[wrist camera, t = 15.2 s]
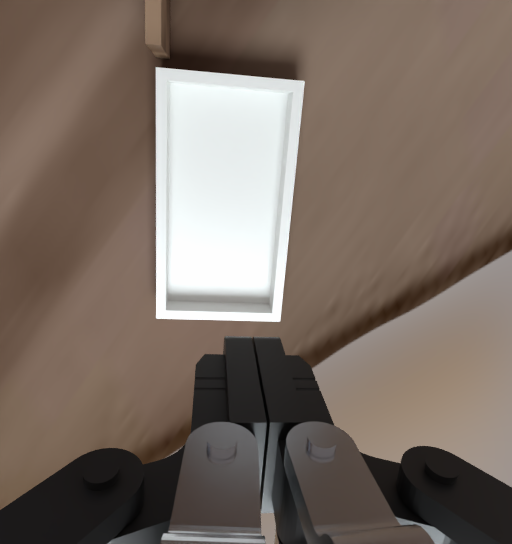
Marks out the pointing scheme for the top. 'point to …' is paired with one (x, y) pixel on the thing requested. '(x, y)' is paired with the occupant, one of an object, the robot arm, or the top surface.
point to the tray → (223, 193)
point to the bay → (158, 27)
